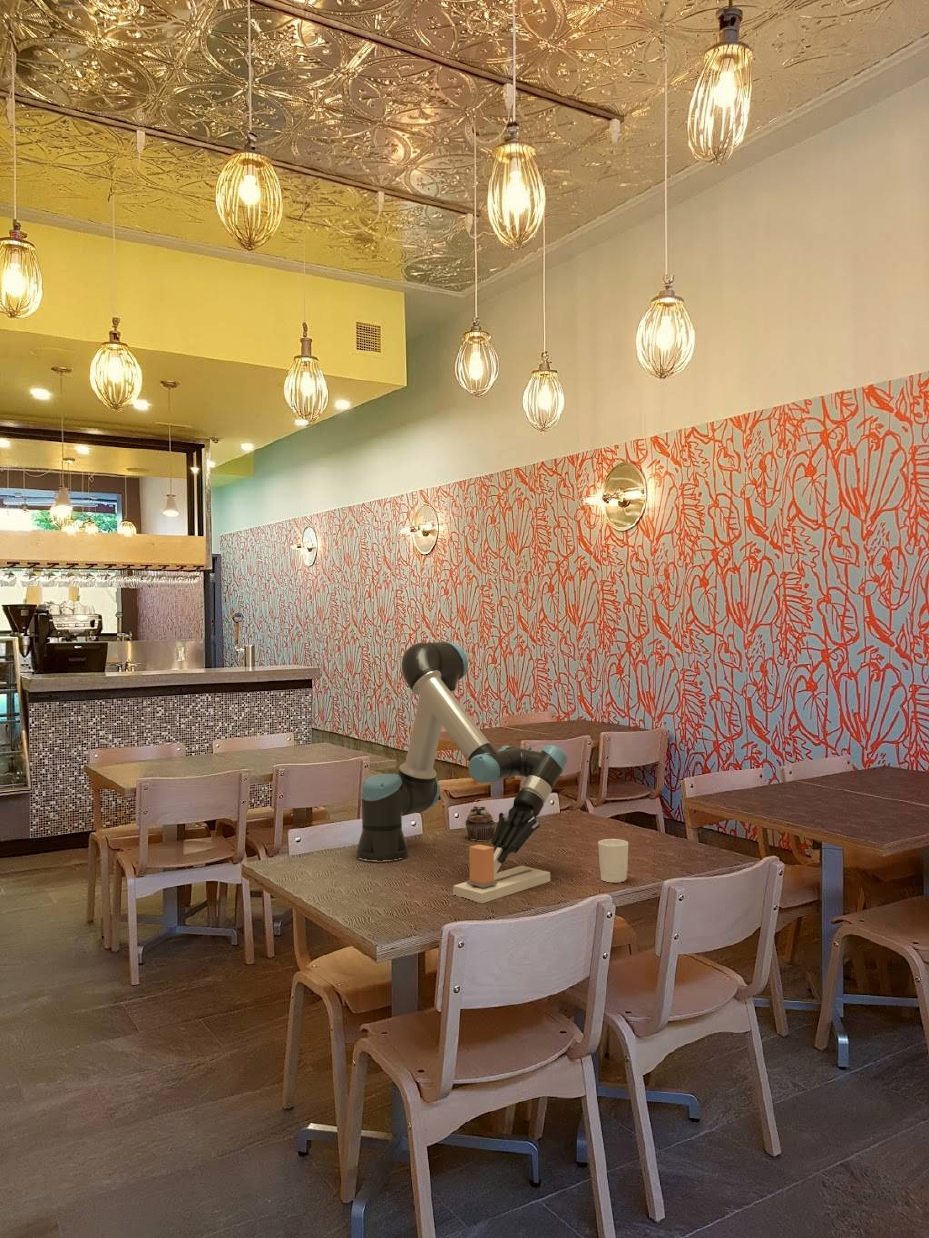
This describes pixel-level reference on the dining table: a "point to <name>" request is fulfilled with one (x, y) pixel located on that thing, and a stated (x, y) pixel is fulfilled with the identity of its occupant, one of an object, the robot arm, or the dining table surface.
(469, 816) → the cupcake
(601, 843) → the white cup
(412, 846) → the dining table surface
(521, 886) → the fader console
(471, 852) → the fader knob
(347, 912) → the dining table surface
